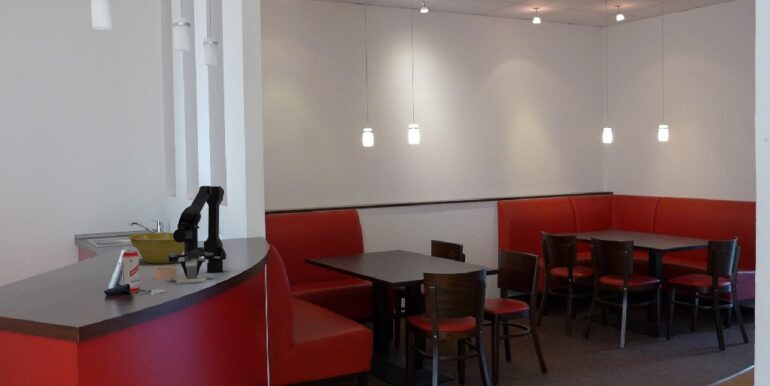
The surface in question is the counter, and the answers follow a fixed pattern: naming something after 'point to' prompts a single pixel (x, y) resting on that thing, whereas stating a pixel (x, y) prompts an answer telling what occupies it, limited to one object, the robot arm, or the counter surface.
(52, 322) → the counter surface
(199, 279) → the lid
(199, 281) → the mat
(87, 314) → the counter surface
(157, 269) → the bowl
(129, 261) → the beer can
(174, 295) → the counter surface
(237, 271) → the counter surface
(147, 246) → the planter bowl
